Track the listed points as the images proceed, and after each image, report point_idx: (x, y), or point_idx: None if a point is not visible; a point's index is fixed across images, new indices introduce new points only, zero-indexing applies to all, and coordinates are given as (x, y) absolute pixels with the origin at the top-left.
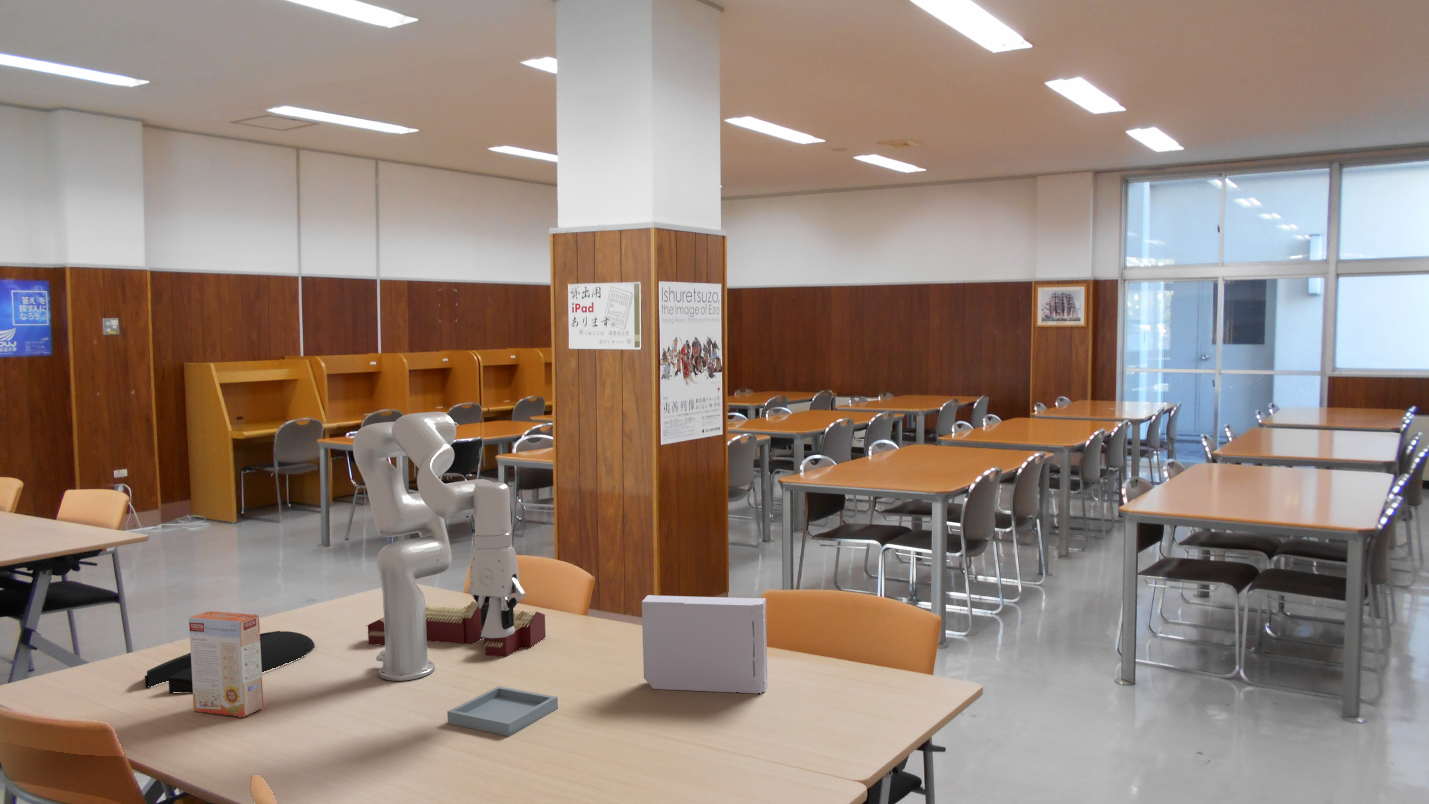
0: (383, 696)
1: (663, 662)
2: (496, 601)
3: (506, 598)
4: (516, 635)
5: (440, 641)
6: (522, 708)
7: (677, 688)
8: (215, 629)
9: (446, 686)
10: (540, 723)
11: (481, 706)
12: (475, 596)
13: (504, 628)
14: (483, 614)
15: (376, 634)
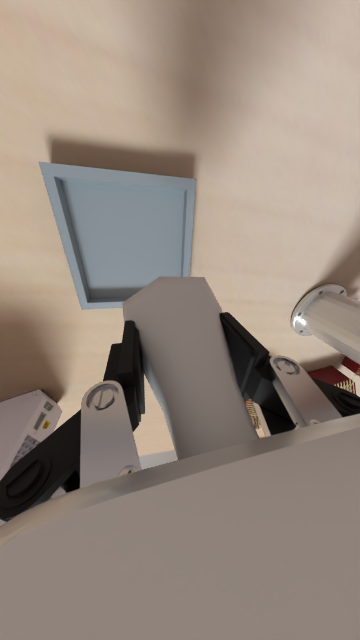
0: (320, 241)
1: (4, 425)
2: (191, 420)
3: (82, 485)
4: (245, 400)
5: (309, 372)
6: (118, 273)
7: (10, 399)
8: None
9: (260, 298)
10: (59, 247)
11: (177, 255)
12: (355, 404)
13: (125, 321)
14: (240, 338)
15: None
